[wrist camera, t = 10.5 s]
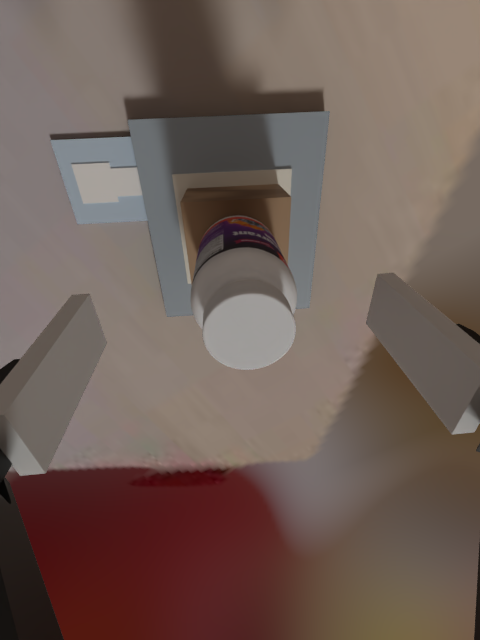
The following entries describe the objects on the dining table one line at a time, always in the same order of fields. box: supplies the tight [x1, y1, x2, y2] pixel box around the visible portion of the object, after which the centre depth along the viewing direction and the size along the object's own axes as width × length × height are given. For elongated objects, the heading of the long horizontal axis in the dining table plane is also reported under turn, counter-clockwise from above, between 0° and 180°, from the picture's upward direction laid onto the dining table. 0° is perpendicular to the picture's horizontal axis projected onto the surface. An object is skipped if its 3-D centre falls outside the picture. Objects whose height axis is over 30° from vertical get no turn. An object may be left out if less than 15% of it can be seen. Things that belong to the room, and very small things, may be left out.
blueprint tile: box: [50, 137, 148, 224], centre depth 24 cm, size 8×6×1 cm
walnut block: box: [180, 184, 291, 285], centre depth 23 cm, size 7×7×5 cm
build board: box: [128, 111, 330, 317], centre depth 26 cm, size 14×16×1 cm
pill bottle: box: [190, 215, 297, 370], centre depth 17 cm, size 5×5×10 cm
